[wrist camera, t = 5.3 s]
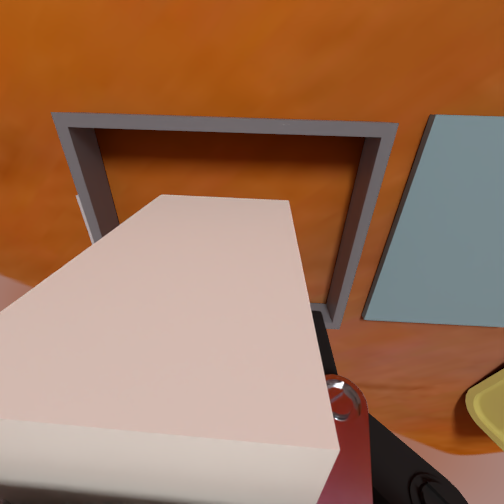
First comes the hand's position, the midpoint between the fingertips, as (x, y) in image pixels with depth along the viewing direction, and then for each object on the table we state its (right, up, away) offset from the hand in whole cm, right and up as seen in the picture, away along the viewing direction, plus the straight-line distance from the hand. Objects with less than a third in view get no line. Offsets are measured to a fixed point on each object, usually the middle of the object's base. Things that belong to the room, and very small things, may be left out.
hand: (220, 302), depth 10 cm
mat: (+16, +3, +6) cm, 17 cm away
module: (0, +1, +1) cm, 2 cm away
